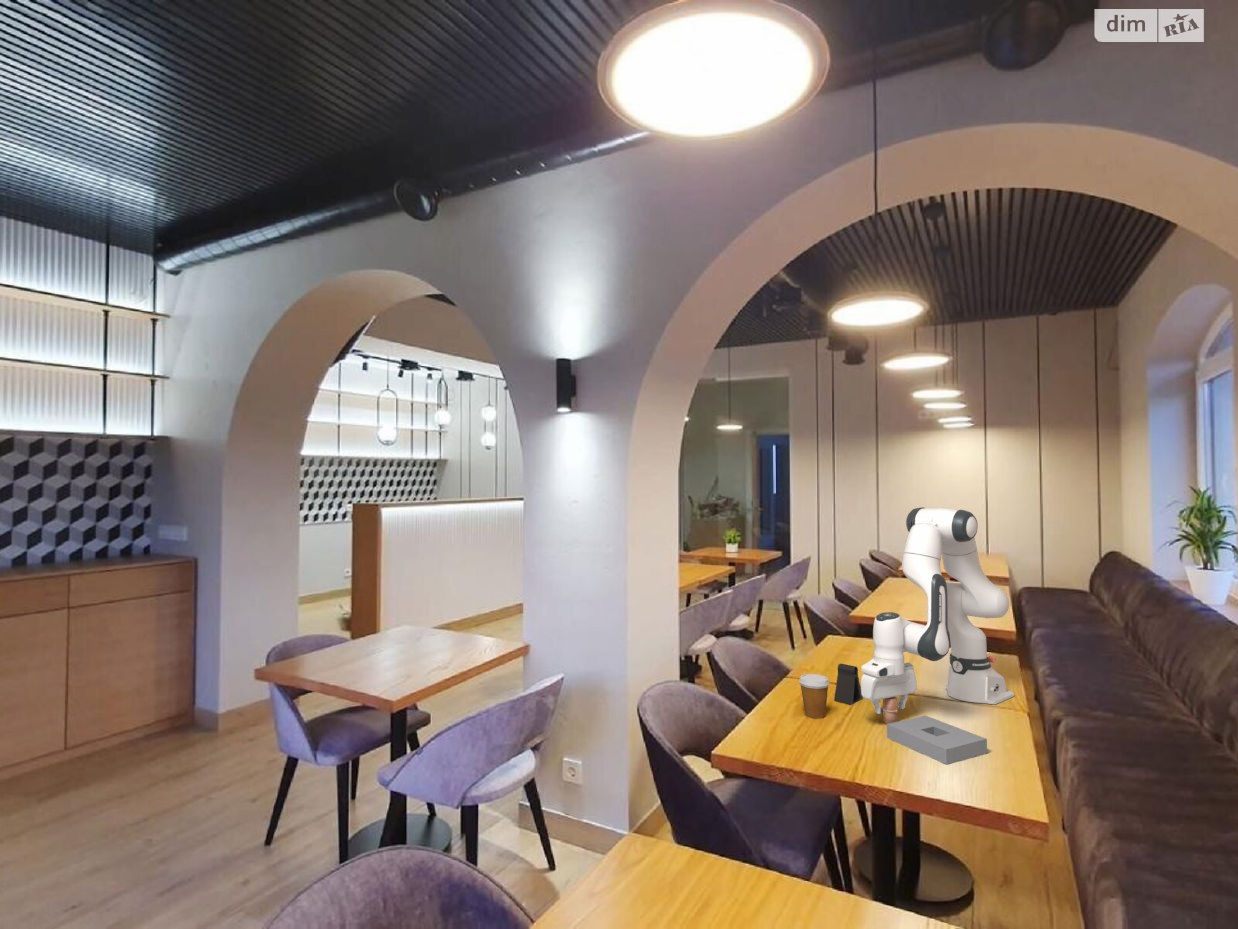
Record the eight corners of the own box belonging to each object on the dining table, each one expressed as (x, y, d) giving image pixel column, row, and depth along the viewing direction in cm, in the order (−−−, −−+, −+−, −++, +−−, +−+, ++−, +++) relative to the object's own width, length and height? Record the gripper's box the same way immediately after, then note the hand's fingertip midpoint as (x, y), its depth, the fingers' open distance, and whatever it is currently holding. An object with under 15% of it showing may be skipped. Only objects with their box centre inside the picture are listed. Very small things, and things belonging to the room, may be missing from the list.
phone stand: (850, 705, 215) (849, 669, 216) (834, 701, 220) (833, 666, 220) (863, 699, 222) (862, 664, 222) (846, 695, 226) (845, 661, 226)
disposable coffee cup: (826, 722, 201) (825, 684, 201) (796, 717, 206) (795, 679, 206) (833, 713, 209) (832, 676, 209) (804, 708, 214) (803, 672, 214)
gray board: (926, 728, 194) (925, 715, 194) (987, 753, 176) (986, 738, 176) (887, 738, 188) (886, 724, 188) (946, 764, 169) (946, 749, 170)
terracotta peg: (890, 720, 202) (889, 694, 202) (900, 724, 198) (899, 698, 198) (880, 722, 200) (879, 696, 200) (890, 726, 196) (890, 700, 197)
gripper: (904, 659, 207) (906, 702, 206) (857, 667, 198) (858, 712, 198) (921, 664, 201) (922, 708, 200) (872, 672, 192) (873, 719, 192)
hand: (890, 710), depth 199 cm, fingers open, 8 cm apart
